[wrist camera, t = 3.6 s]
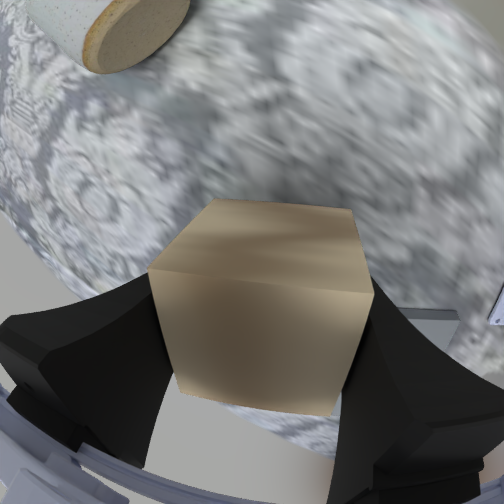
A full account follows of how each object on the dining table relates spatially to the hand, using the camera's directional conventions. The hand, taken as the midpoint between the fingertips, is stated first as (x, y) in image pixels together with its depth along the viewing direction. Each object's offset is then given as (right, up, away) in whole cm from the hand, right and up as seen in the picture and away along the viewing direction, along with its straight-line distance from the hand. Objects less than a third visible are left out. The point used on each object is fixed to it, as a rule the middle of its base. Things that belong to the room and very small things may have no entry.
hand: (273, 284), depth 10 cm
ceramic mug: (-7, +18, +2) cm, 19 cm away
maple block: (0, +1, +1) cm, 1 cm away
